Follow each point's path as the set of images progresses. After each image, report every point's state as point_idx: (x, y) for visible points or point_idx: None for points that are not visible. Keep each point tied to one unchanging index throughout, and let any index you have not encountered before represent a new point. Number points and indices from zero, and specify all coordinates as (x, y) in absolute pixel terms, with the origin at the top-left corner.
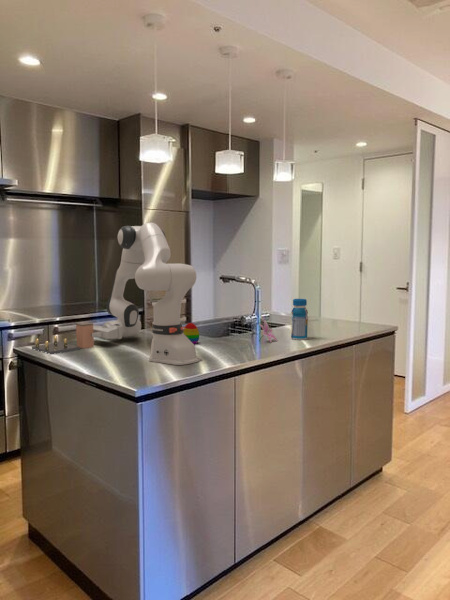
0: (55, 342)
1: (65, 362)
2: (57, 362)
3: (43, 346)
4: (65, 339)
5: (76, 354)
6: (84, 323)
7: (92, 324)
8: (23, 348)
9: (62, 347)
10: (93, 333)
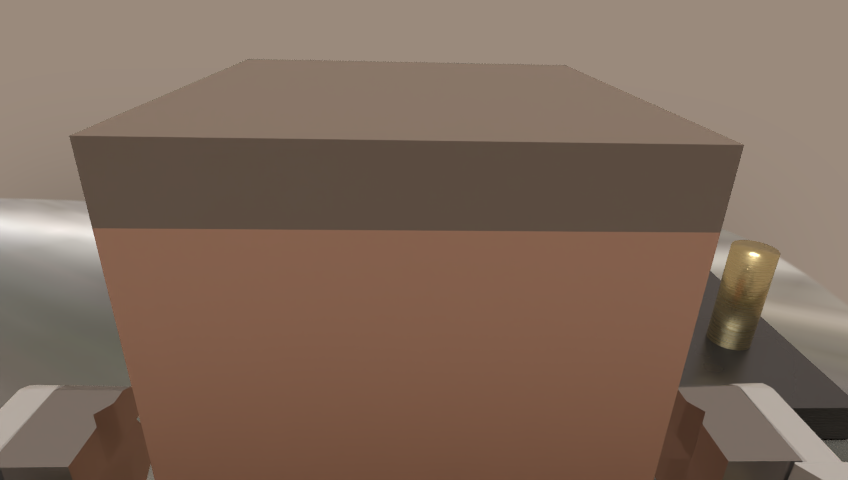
0: (711, 315)
1: (21, 215)
2: (83, 203)
3: None
4: None
5: (107, 320)
6: (401, 85)
7: (108, 181)
8: (720, 233)
9: None
10: (10, 404)
